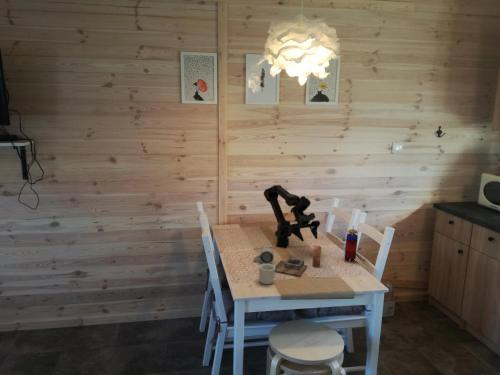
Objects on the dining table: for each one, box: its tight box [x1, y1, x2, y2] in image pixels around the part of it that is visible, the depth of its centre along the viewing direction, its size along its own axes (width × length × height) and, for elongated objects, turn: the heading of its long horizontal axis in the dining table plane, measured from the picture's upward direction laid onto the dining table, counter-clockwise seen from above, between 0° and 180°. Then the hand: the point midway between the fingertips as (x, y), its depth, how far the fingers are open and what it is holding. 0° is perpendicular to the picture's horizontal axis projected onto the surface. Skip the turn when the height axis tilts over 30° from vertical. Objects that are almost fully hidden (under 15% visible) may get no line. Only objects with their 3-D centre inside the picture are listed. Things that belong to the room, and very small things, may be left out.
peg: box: [311, 245, 322, 269], centre depth 214 cm, size 4×4×11 cm
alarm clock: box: [341, 225, 359, 263], centre depth 225 cm, size 15×9×20 cm, turn 163°
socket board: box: [274, 257, 308, 278], centre depth 209 cm, size 15×14×4 cm
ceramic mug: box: [253, 247, 275, 264], centre depth 218 cm, size 11×8×8 cm
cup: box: [258, 263, 276, 285], centre depth 195 cm, size 11×8×8 cm
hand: (310, 240), depth 218 cm, fingers open, 9 cm apart
